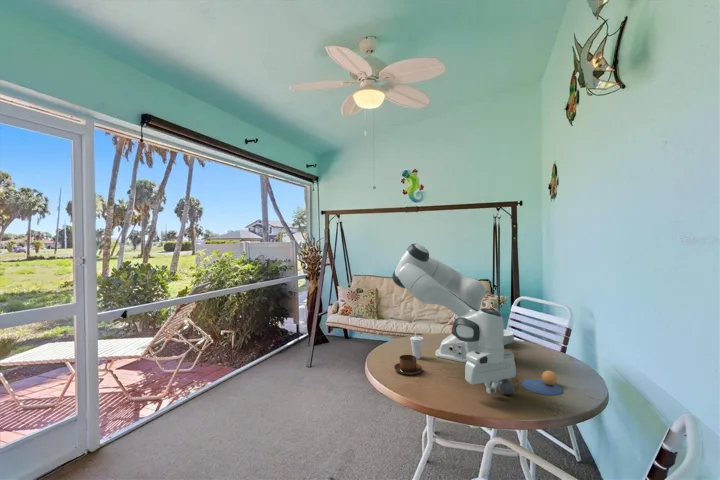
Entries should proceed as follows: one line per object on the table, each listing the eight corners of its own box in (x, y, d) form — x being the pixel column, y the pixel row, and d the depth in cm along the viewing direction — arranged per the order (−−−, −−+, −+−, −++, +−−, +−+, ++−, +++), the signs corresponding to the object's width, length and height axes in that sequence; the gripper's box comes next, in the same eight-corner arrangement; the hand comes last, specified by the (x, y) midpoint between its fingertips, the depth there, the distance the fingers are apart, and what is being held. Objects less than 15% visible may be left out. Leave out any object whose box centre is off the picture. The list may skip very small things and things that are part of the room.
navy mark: (521, 390, 127) (521, 390, 127) (521, 377, 140) (521, 376, 140) (564, 398, 121) (564, 397, 121) (560, 383, 134) (560, 382, 134)
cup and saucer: (388, 372, 147) (388, 357, 147) (404, 364, 156) (404, 351, 156) (411, 379, 139) (411, 364, 139) (427, 371, 148) (427, 357, 148)
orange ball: (544, 389, 131) (540, 377, 131) (543, 380, 136) (539, 368, 135) (560, 388, 129) (556, 375, 128) (558, 379, 134) (554, 366, 133)
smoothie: (408, 355, 167) (408, 327, 167) (421, 355, 168) (421, 327, 168) (412, 360, 161) (411, 331, 161) (425, 359, 161) (424, 330, 161)
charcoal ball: (509, 374, 125) (515, 385, 126) (495, 376, 128) (501, 388, 129) (510, 385, 120) (516, 397, 121) (495, 387, 123) (501, 399, 124)
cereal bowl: (520, 348, 177) (520, 335, 177) (489, 349, 177) (489, 336, 177) (504, 339, 194) (504, 327, 194) (476, 340, 193) (476, 327, 194)
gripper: (507, 348, 129) (507, 384, 129) (462, 354, 122) (462, 392, 122) (520, 353, 123) (520, 391, 123) (473, 360, 116) (473, 400, 116)
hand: (491, 392), depth 123 cm, fingers closed
